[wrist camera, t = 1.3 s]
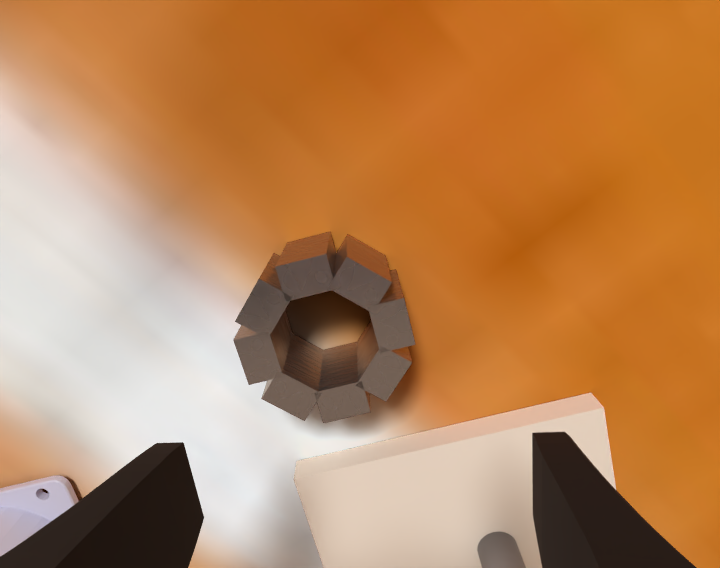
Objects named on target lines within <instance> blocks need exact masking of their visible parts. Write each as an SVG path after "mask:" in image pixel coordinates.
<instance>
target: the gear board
mask: <svg viewBox="0 0 720 568" xmlns="http://www.w3.org/2000/svg"><path fill="white" fill-rule="evenodd" d="M537 432H566V433H567V434H568V435H569V436H570V437H571V438H572V439H573V441H574V442H575V443H576V444H577V446H578V447H579V448H580V449H581V450H582V452H583V453H584V454H585V455H586V457H587V458H588V459H589V460H590V461H591V462H592V464H593V465H594V466H595V467H596V468H597V469H598V470H599V472H600V473H601V474H602V475H603V476H604V477H605V478H606V480H607V481H608V482H609V483H610V484H611V485H612V486H613V487H614V488H615V490H616V486H615V479H614V472H613V466H612V459H611V452H610V445H609V439H608V432H607V425H606V419H605V412H604V407H603V406H602V405H601V404H600V403H599V401H598V400H597V399H596V398H595V397H594V396H593V394H592V393H587V394H583V395H579V396H574V397H570V398H566V399H561V400H557V401H553V402H548V403H544V404H540V405H535V406H531V407H527V408H523V409H518V410H514V411H510V412H505V413H501V414H497V415H492V416H488V417H484V418H480V419H475V420H471V421H467V422H462V423H458V424H454V425H449V426H445V427H441V428H437V429H432V430H428V431H424V432H419V433H415V434H411V435H406V436H402V437H398V438H393V439H389V440H385V441H381V442H376V443H372V444H368V445H363V446H359V447H355V448H350V449H346V450H342V451H338V452H333V453H329V454H325V455H320V456H316V457H312V458H307V459H303V460H299V461H297V462H296V468H295V474H294V482H295V485H296V488H297V491H298V494H299V496H300V499H301V502H302V505H303V508H304V511H305V514H306V517H307V520H308V523H309V526H310V529H311V532H312V535H313V538H314V541H315V544H316V547H317V550H318V553H319V556H320V559H321V562H322V565H323V568H542V564H541V558H540V553H539V548H538V542H537V537H536V531H535V525H534V520H533V483H532V433H537Z"/></svg>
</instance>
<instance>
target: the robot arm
mask: <svg viewBox="0 0 720 568" xmlns="http://www.w3.org/2000/svg"><path fill="white" fill-rule="evenodd" d="M532 483H533V520H534V525H535V531H536V537H537V542H538V548H539V553H540V558H541V564H542V568H696V567H695V566H694V565H693V564H692V563H691V562H689V561H688V560H687V559H686V558H685V557H684V556H683V555H682V554H680V553H679V552H678V551H677V550H676V549H675V548H674V547H673V546H672V545H671V544H669V543H668V542H667V541H666V540H665V539H664V538H663V537H662V536H661V535H660V534H659V533H658V532H657V531H656V530H655V529H654V528H653V527H652V526H651V525H649V524H648V523H647V522H646V521H645V520H644V519H643V518H642V517H641V516H640V515H639V514H638V513H637V511H636V510H635V509H634V508H633V507H632V506H631V505H630V504H629V503H628V502H627V501H626V500H625V499H624V498H623V497H622V496H621V495H620V494H619V493H618V492H617V491H616V490H615V488H614V487H613V486H612V485H611V484H610V483H609V482H608V481H607V480H606V478H605V477H604V476H603V475H602V474H601V473H600V472H599V470H598V469H597V468H596V467H595V466H594V465H593V464H592V462H591V461H590V460H589V459H588V458H587V457H586V455H585V454H584V453H583V452H582V450H581V449H580V448H579V447H578V446H577V444H576V443H575V442H574V441H573V439H572V438H571V437H570V436H569V435H568V434H567V433H566V432H537V433H532ZM42 489H45V490H47V491H48V492H49V493H45V492H43V490H42ZM203 519H204V516H203V512H202V509H201V505H200V501H199V498H198V494H197V490H196V487H195V483H194V479H193V476H192V472H191V469H190V465H189V461H188V458H187V454H186V450H185V447H184V443H156V444H155V445H153V446H152V447H150V448H149V449H147V450H146V451H145V452H143V453H142V454H140V455H139V456H138V457H136V458H135V459H134V460H132V461H131V462H130V463H128V464H127V465H126V466H124V467H123V468H122V469H120V470H119V471H118V472H117V473H115V474H114V475H113V476H111V477H110V478H109V479H107V480H106V481H105V482H104V483H102V484H101V485H100V486H98V487H97V488H96V489H94V490H93V491H92V492H90V493H89V494H88V495H86V496H85V497H84V498H83V499H81V500H80V501H79V500H78V498H77V496H76V494H75V492H74V490H73V488H72V485H71V483H70V482H69V481H68V479H66V478H65V477H63V476H59V475H57V476H50V477H46V478H42V479H38V480H34V481H29V482H25V483H21V484H17V485H12V486H8V487H4V488H0V568H188V566H189V564H190V561H191V558H192V555H193V552H194V549H195V546H196V543H197V539H198V536H199V533H200V529H201V526H202V523H203Z"/></svg>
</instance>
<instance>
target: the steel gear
mask: <svg viewBox="0 0 720 568" xmlns="http://www.w3.org/2000/svg"><path fill="white" fill-rule="evenodd" d="M331 290H332V291H334V292H336V293H338V294H339V295H341V296H343V297H345V298H347V299H348V300H350V301H352V302H354V303H356V304H357V305H359V306H361V307H363V308H364V309H366V310H368V311H369V313H370V317H371V321H370V322H369V324H368V325H367V327H366V328H365V330H364V332H363V333H362V335H361V336H360V338H359V340H358V341H357V342H354V343H350V344H346V345H342V346H338V347H334V348H330V349H326V350H322V349H320V348H319V347H317V346H315V345H313V344H311V343H309V342H307V341H306V340H304V339H302V338H300V337H298V336H296V335H294V334H293V333H292V330H291V326H290V323H289V320H288V317H287V314H286V310H285V309H286V307H287V305H288V304H289V302H290V301H291V300H295V299H299V298H303V297H307V296H311V295H315V294H319V293H323V292H327V291H331ZM235 322H237V323H239V324H241V327H240V329H239V331H238V333H237V334H236V336H235V338H234V343H235V346H236V349H237V352H238V355H239V357H240V360H241V363H242V366H243V369H244V372H245V375H246V378H247V381H248V384H249V385H250V384H254V383H259V382H263V381H267V383H266V386H265V389H264V392H263V395H262V399H263V400H265V401H267V402H269V403H271V404H273V405H275V406H276V407H278V408H280V409H282V410H284V411H286V412H288V413H290V414H292V415H294V416H296V417H298V418H300V419H302V420H304V421H305V419H306V418H307V416H308V415H309V413H310V412H311V410H312V408H313V407H314V405H315V404H316V402H317V404H318V407H319V410H320V413H321V417H322V420H323V423H326V422H331V421H335V420H339V419H343V418H348V417H352V416H356V415H360V414H365V413H369V412H371V409H370V393H371V394H373V395H375V396H376V397H378V398H380V399H382V400H384V401H387V400H388V398H389V397H390V395H391V394H392V392H393V391H394V389H395V388H396V386H397V385H398V383H399V382H400V380H401V379H402V377H403V376H404V374H405V373H406V371H407V370H408V368H409V367H410V365H411V364H412V360H411V356H410V352H409V347H408V346H412V345H415V341H414V337H413V333H412V329H411V324H410V320H409V316H408V312H407V308H406V304H405V300H404V296H403V293H402V289H401V286H400V282H399V279H398V275H397V271H396V269H395V270H391V271H389V267H388V263H387V259H386V256H385V255H383V254H381V253H380V252H378V251H376V250H375V249H373V248H371V247H369V246H368V245H366V244H364V243H362V242H361V241H359V240H357V239H355V238H354V237H352V236H350V235H349V234H347V236H346V238H345V239H344V241H343V243H342V244H341V246H340V248H339V250H338V251H337V253H336V250H335V247H334V243H333V239H332V236H331V232H327V233H323V234H319V235H315V236H311V237H308V238H304V239H300V240H296V241H292V242H288V243H287V244H286V246H285V248H284V250H283V252H282V254H281V256H279V255H277V254H275V253H274V254H273V255H272V257H271V259H270V261H269V262H268V264H267V266H266V268H265V269H264V271H263V273H262V275H261V276H260V278H259V280H258V282H257V283H256V285H255V287H254V289H253V291H252V292H251V294H250V296H249V298H248V299H247V301H246V303H245V305H244V307H243V308H242V310H241V312H240V314H239V315H238V317H237V319H236V321H235Z"/></svg>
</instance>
